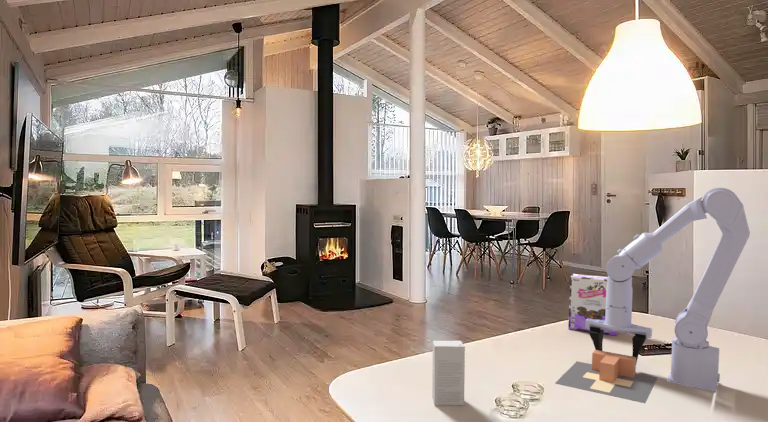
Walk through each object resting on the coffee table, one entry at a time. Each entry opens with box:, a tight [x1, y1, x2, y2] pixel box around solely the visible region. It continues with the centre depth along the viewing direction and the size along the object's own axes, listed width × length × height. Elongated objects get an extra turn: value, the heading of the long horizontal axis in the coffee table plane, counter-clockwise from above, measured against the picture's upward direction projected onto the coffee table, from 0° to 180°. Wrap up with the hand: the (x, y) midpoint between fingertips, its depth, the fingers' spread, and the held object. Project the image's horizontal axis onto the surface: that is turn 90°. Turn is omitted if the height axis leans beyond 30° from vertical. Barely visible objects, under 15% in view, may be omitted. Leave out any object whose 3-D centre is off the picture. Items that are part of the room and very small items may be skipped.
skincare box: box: [431, 340, 466, 407], centre depth 109 cm, size 6×4×12 cm
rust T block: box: [591, 349, 637, 383], centre depth 124 cm, size 9×9×4 cm
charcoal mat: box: [554, 361, 658, 404], centre depth 121 cm, size 18×18×1 cm
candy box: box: [567, 273, 619, 336], centre depth 164 cm, size 14×6×16 cm, turn 62°
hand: (616, 362), depth 129 cm, fingers open, 7 cm apart
